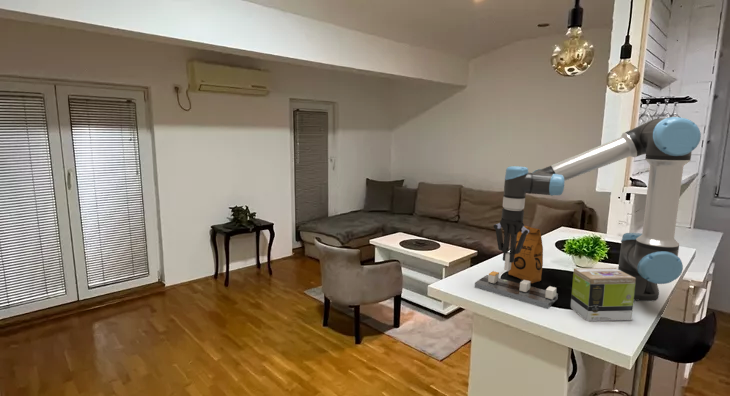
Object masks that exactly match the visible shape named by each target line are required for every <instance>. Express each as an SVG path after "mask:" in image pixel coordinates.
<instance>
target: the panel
mask: <svg viewBox="0 0 730 396" xmlns="http://www.w3.org/2000/svg"><path fill="white" fill-rule="evenodd" d="M488 276H489V274H488V275H487V274H486V275H484V276H483V277H481V278H479V279H478V280H477V281H475V282H474V288H475V289H479V290H482V291H486V292H489V293H492V294H496V295H499V296H503V297H506V298H508V299H514V300H517V301H519V302H523V303H527V304H531V305H534V306H537V307H541V308H543V309H547V310H549V309H550V307H551V306H552V305H553V304H554V303H555V302H556V301H557V300H558V297H559V296H558V295H559V293H557V292H556V296H555V297H554V298H553V299H549V298H545V294H546V289H542V288H540V287H539V288H538V287H534V286H531V285H530V289H529V290H528V291H527V292H523V291H520V290H519V289H520V282H515V281H512V280H508V279H504V278H501V277H499V278H498V281H497V282H496V283H490V282H488Z"/></svg>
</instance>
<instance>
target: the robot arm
mask: <svg viewBox="0 0 730 396" xmlns="http://www.w3.org/2000/svg"><path fill="white" fill-rule="evenodd" d="M701 137H702V135H701V130H700V128H699V126H698V125H697V124H696V123H695V122H693V121H692V120H690V119H688V118H685V117H681V116H680V117H679V116H678V117H677V116H671V117H663V118H662V117H661V118H659V117H658V118H655V119H652V120H648V121H647V122H644V123H643V124H642V123H641V125H638V126H636V127H634V128H632V129H629V130H628V131H626V132H623V133H622V134H621V136H620V137H618V138H616V139H613V140H611V141H608V142H606V143H603V144H601V145H599V146H595V147H593V148H590V149H588V150H586V151H584V152H581V153H579V154H576V155H573V156H570V157H568V158H566V159H563V160H561V161H559V162H556V163H554V164H551V165H549V166H546V167H544V168H541V169H540V168H539V169H536V170H534V171H532V172H529V168H528V167H526V166H520V165H519V166H517V165H516V166H515V165H513V166H508V167H506V169H505V176H504V185H503V186H504V188H503V197H502V207H503V208H502V209H501V210H502V211H501V219H500V221H499V223H496V224H493V229H494V230H495V234H496V235H495V237H496V240H497V248H498V251H501V252H502V253H503V254H502V261H503V262H504V267H503V270H504V271H505V272H509V270H511V263H513V262H514V257H515V254H518V253H520V251H521V249H522V246H523V243H524V241H525V238H526V235H527V234H528V233H529V232H530V230H529V229H526V228H525V227H524V226H525V224H524V215H525V211H524V209H525V207H526V206H525V204H526V195H527V194H528V195H529V194H530V195H545V196H551V197H552V196H561V195H562V194H563V193H564V191H565V182H567V181H569V180H571V179H574V178H576V177H579V176H581V175H582V176H583V175H585V174H588V173H591V172H592V171H595V170H597V169H601V168H604V167H606V166H608V165H611V164H613V163H616V162H619V161H621V160H624V159H627V158H628V157H632V158H637V157H640V156H643V155H645V159H644V160H645V161H646V162H647V163H648V164H649V174H648V183H647V190H646V197H645V208H644V215H643V217H644V218H643V225H642V231H641V232H642V233H641V232H640V233H639V232H625V233H623V234H622V238H621V240H620V242H621V243H620V251H619V259H618V268H617V269H618V270H620V271H622V272H624V273H626V274H629V275H631V276H633V277H635V278H636V283H635V293H634V301H640V302H642V301H643V302H654V301H657V300H659V297H660V290H659V285H662V284H663V285H664V284H665V285H666V284H669V283H672V282H674V281H676V280H677V279H678V278H679V277H680V276H681V275H682V273H683V270H684V265H683V262H682V259H681V258H680V257H679V251H680V242H678V241H677V240H676V239H675V234H676V227H677V226H676V225H677V219H678V218H677V217H678V211H679V204H680V196H681V188H682V181H683V172H684V166H685V165H687V164H688V163H690V162H691V158H692V153H693V151H694V150H695V149H696V148H697V147H698V146H699V144H700V142H701V139H702V138H701ZM521 229H522V231H521V232H522V234H521V237H520V239H519V242H518V245H517V247H516V241H517V235H518V232H519V231H520V230H521ZM502 230H503V231H504V232H503V231H502ZM503 233H504V234H503ZM503 236H504V238H503ZM510 243H511V245H510Z"/></svg>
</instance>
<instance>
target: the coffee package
mask: <svg viewBox="0 0 730 396" xmlns="http://www.w3.org/2000/svg"><path fill="white" fill-rule="evenodd" d="M524 227H525V228H526V229H529V230H530V232H529V233H528V234H527V235H526V238H525V241H524V243H523V246H522V249H521V251H520V253H518V254H515V257H514V262H513V263H511V270H509V271H508V275H509V276H513V277H515V278H518V279H520V280H521V281H523V280H527V281H531V282H530V284H534V283H537V282H540V281H542V274H543V266H544V265H543V263H544V259H543V258H544V257H543V256H544V247H543V240H542V234H541V229H540V228H537V227H531V226H527V225H524ZM521 231H522V229H521V230H520V231H519V232H518V235H517V241H516V247H517V245H518V242H519V239H520V237H521V234H522V232H521ZM510 245H511V242H509V246H510Z"/></svg>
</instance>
